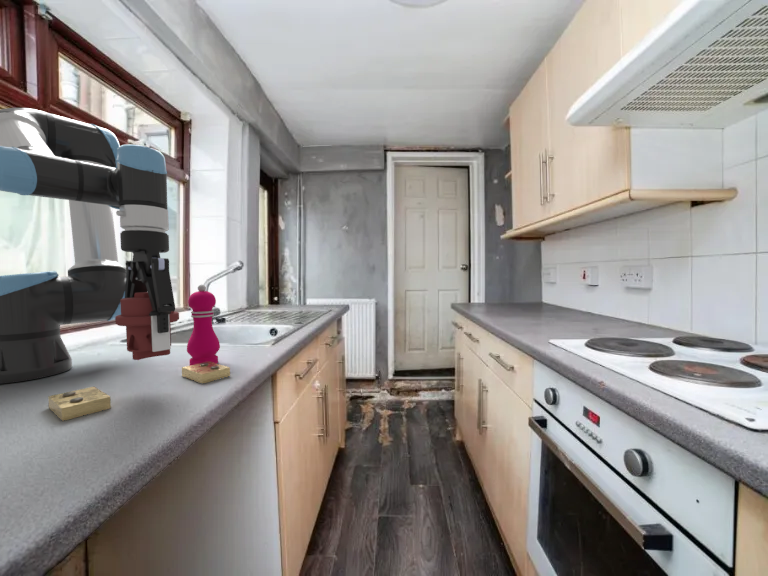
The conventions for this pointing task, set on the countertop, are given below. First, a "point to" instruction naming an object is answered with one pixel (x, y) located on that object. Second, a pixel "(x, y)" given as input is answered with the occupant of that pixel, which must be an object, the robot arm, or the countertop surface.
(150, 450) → the countertop surface
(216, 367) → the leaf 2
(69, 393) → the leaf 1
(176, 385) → the countertop surface
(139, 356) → the mechanical component
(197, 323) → the pepper mill
